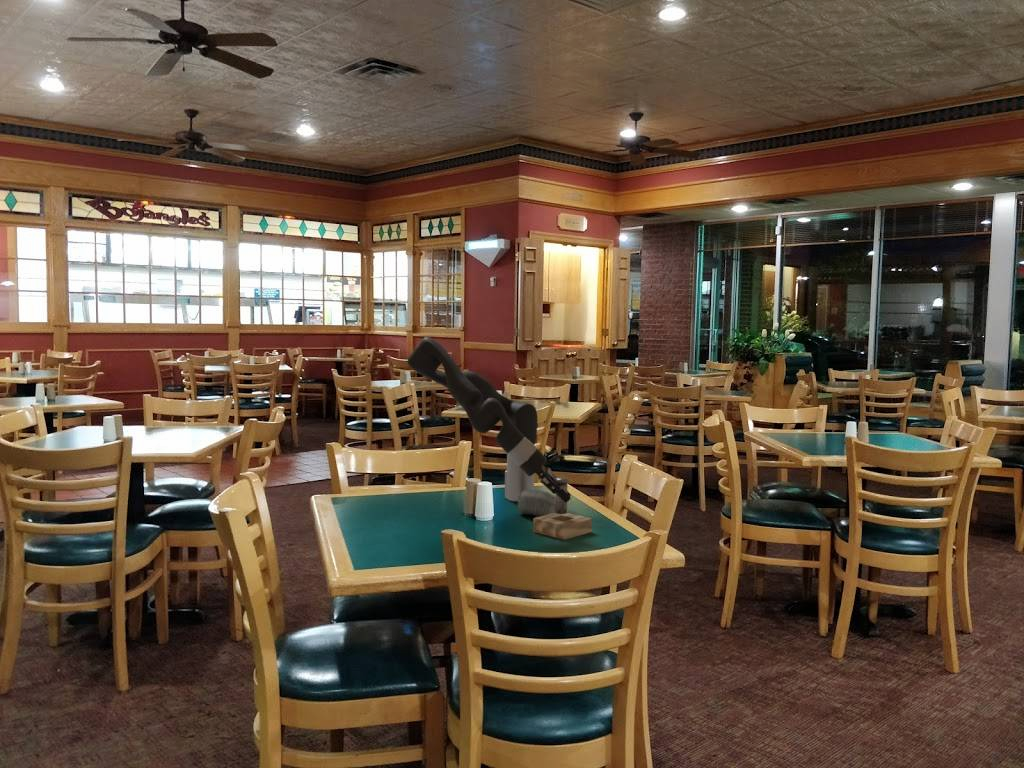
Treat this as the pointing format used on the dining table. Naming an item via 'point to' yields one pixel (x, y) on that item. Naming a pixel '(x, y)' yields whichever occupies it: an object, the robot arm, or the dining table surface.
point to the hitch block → (562, 525)
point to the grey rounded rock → (536, 503)
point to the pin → (559, 503)
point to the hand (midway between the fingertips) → (568, 498)
